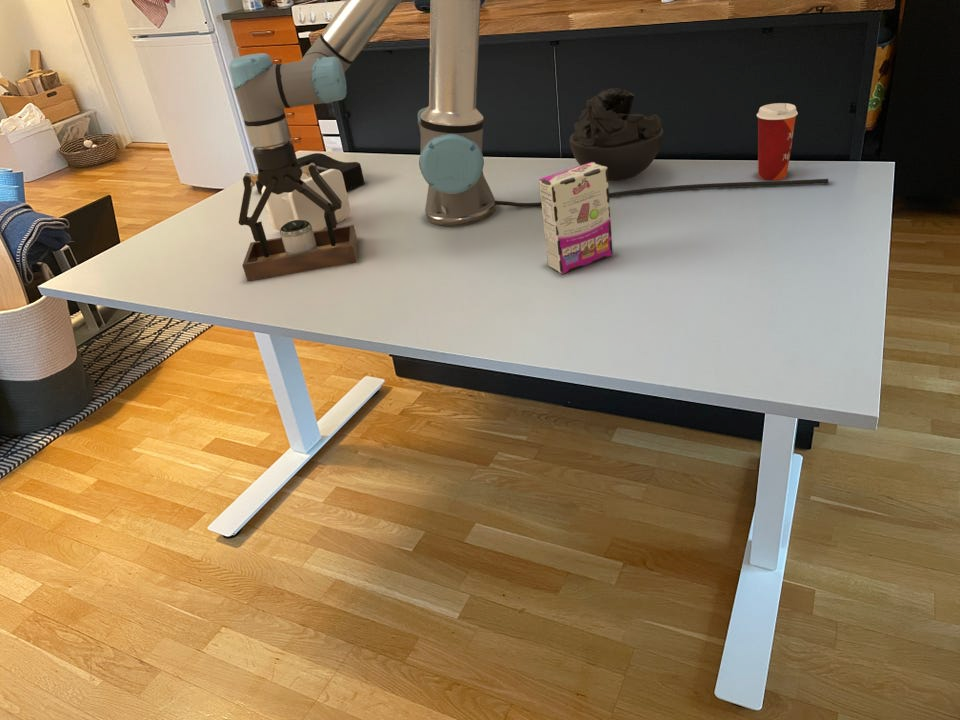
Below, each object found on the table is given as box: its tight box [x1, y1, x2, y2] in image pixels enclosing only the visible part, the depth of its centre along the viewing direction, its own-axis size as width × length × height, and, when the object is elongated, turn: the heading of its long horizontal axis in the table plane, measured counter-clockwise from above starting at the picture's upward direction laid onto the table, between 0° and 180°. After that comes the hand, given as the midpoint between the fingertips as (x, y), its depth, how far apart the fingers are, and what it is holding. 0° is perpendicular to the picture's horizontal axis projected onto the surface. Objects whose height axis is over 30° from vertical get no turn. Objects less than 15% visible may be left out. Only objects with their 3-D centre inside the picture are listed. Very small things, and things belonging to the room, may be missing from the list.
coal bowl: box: [569, 87, 664, 182], centre depth 162 cm, size 20×20×19 cm
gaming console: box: [255, 152, 365, 195], centre depth 189 cm, size 27×20×7 cm
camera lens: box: [279, 220, 317, 256], centre depth 149 cm, size 6×6×8 cm
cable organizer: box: [261, 169, 351, 232], centre depth 164 cm, size 15×11×12 cm
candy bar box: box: [538, 162, 613, 275], centre depth 129 cm, size 11×5×16 cm, turn 117°
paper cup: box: [756, 102, 799, 181], centre depth 152 cm, size 8×8×14 cm
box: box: [242, 224, 358, 282], centre depth 150 cm, size 22×12×4 cm, turn 97°
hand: (300, 249), depth 150 cm, fingers open, 13 cm apart
